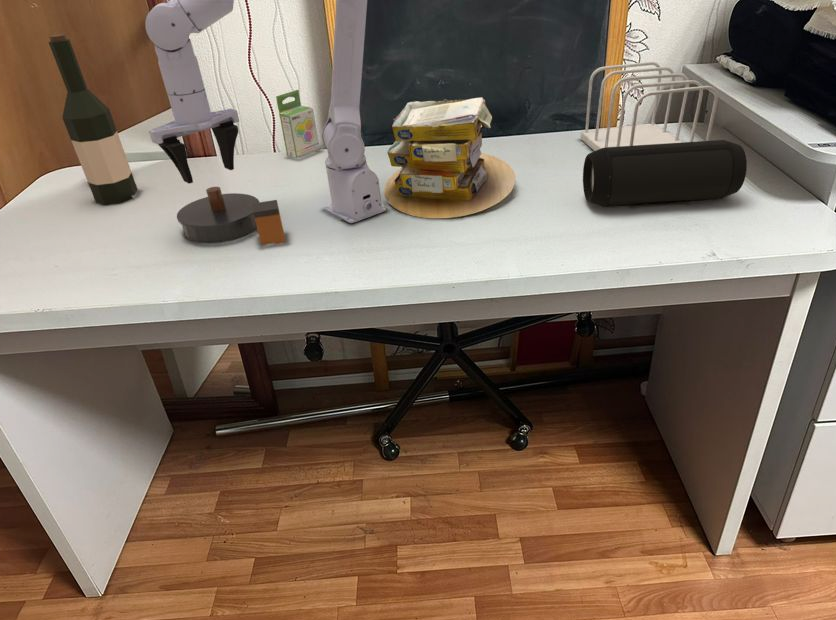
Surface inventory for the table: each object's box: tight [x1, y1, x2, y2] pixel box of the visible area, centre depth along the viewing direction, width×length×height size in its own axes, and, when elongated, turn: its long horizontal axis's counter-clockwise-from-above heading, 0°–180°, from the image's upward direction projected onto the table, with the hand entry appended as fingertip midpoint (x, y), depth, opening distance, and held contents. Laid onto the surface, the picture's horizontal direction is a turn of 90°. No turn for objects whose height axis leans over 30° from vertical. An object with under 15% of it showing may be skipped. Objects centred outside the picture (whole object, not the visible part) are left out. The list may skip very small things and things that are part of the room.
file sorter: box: [580, 61, 719, 152], centre depth 126 cm, size 25×17×16 cm
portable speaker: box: [582, 139, 748, 208], centre depth 108 cm, size 26×10×10 cm, turn 92°
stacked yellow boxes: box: [384, 96, 516, 219], centre depth 115 cm, size 25×25×17 cm
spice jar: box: [253, 199, 286, 246], centre depth 104 cm, size 4×4×6 cm
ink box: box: [275, 89, 321, 159], centre depth 139 cm, size 7×4×13 cm, turn 143°
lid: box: [176, 186, 260, 229], centre depth 108 cm, size 14×14×5 cm
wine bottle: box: [48, 33, 138, 206], centre depth 119 cm, size 8×8×30 cm
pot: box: [181, 215, 257, 244], centre depth 110 cm, size 13×13×3 cm
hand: (209, 175), depth 105 cm, fingers open, 7 cm apart
